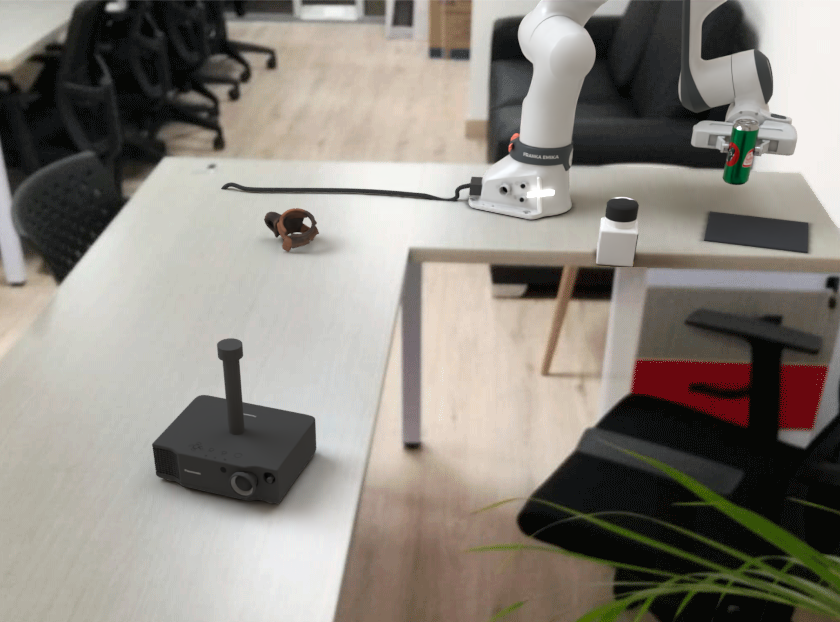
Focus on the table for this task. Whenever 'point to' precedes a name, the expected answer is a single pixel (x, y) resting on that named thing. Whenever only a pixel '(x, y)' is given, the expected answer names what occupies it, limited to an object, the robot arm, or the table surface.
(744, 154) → the soda can
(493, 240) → the table surface
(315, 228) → the brown curved piece
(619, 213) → the medicine bottle
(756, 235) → the desk pad
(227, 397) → the projector
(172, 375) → the table surface
